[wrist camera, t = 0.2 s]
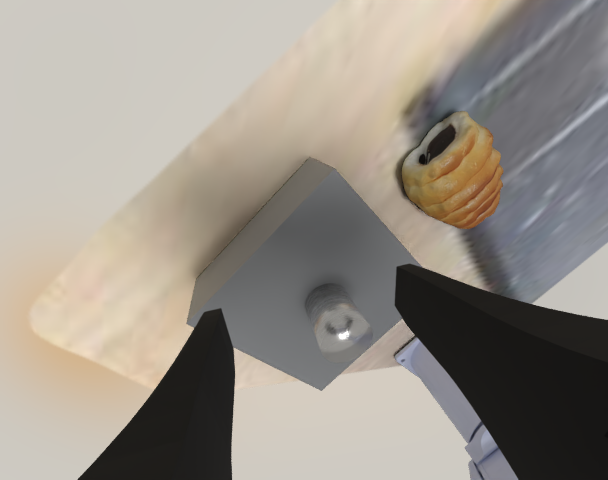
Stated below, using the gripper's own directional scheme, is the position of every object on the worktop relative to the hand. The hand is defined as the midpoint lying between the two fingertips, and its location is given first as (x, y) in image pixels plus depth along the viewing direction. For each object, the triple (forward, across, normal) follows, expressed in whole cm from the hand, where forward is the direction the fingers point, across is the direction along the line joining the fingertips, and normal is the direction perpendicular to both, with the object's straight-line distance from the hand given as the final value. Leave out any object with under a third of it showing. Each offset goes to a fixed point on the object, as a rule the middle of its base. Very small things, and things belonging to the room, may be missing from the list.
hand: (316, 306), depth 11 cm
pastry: (+10, -14, -2) cm, 18 cm away
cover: (+10, -2, +4) cm, 11 cm away
